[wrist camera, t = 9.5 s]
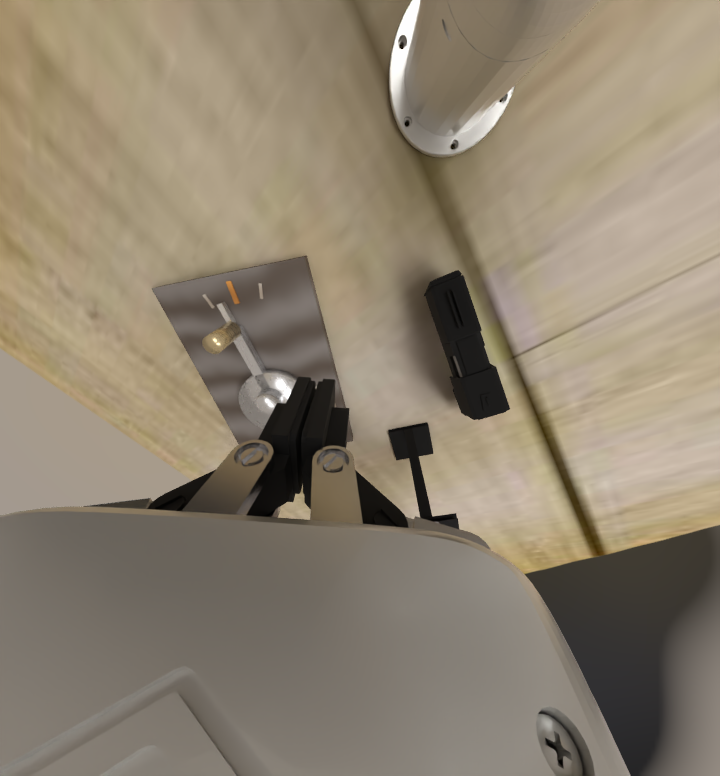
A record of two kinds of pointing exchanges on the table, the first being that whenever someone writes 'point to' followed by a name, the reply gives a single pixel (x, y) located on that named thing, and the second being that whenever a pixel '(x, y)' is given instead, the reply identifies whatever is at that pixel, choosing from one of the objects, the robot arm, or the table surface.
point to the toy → (465, 348)
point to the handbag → (418, 466)
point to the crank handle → (263, 383)
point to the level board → (253, 330)
